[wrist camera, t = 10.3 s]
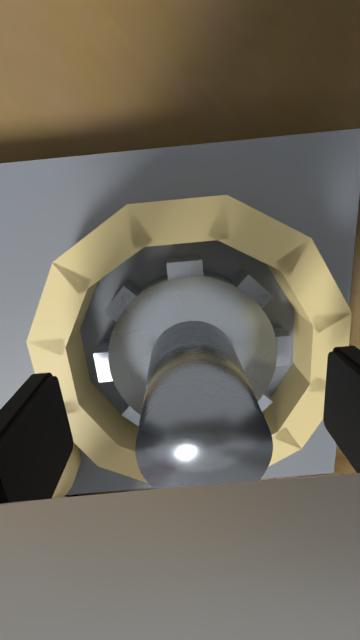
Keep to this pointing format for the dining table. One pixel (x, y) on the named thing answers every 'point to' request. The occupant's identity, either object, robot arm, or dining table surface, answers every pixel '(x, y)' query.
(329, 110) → the dining table surface
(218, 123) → the dining table surface
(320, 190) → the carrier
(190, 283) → the gear
